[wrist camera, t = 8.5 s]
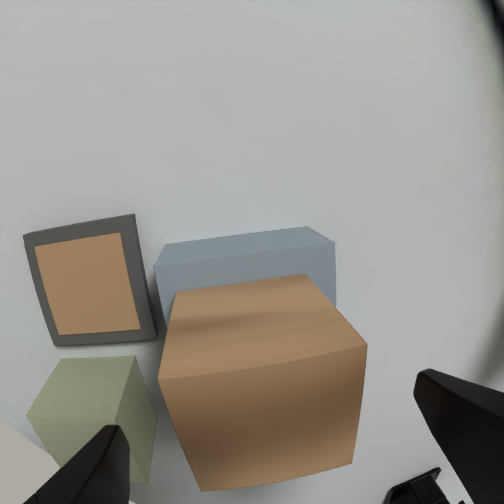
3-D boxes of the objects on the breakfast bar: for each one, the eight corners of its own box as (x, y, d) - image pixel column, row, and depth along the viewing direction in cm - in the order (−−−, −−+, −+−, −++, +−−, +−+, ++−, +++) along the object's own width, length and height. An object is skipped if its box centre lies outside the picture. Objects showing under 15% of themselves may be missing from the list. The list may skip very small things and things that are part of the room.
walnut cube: (308, 375, 14) (351, 463, 9) (199, 392, 13) (201, 491, 8) (304, 273, 12) (367, 343, 7) (176, 291, 12) (157, 379, 7)
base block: (310, 344, 18) (334, 384, 14) (190, 363, 17) (188, 408, 13) (305, 225, 16) (334, 242, 12) (166, 243, 15) (153, 266, 12)
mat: (158, 333, 16) (156, 339, 16) (57, 340, 16) (53, 346, 15) (134, 213, 15) (131, 215, 14) (28, 233, 14) (21, 235, 13)
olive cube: (157, 417, 18) (148, 483, 13) (88, 418, 17) (67, 477, 12) (135, 355, 17) (114, 420, 11) (61, 358, 16) (26, 415, 11)
